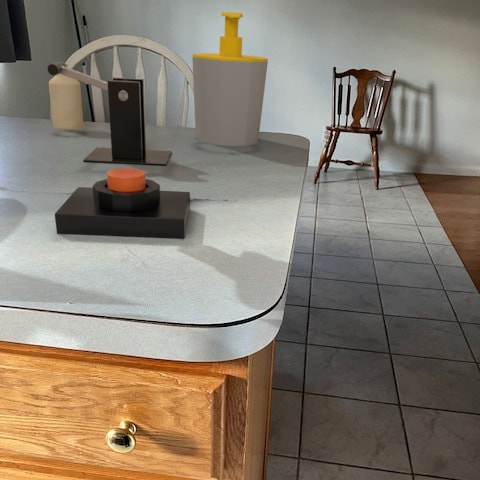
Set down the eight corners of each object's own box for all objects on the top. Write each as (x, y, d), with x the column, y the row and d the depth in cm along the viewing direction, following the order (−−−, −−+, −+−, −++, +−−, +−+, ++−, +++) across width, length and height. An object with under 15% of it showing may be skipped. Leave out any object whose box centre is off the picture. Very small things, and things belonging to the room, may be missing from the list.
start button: (104, 193, 56) (103, 176, 56) (111, 183, 60) (110, 167, 59) (143, 195, 57) (142, 178, 56) (147, 184, 60) (147, 169, 59)
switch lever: (45, 76, 75) (48, 58, 74) (55, 73, 79) (58, 56, 78) (131, 107, 77) (135, 90, 76) (136, 102, 82) (140, 86, 80)
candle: (49, 129, 103) (42, 72, 98) (76, 127, 106) (71, 72, 101) (61, 135, 99) (55, 75, 95) (89, 132, 103) (84, 75, 98)
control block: (56, 234, 55) (52, 196, 53) (79, 205, 64) (76, 171, 62) (184, 239, 56) (184, 201, 54) (189, 209, 65) (190, 176, 63)
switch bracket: (83, 168, 79) (76, 80, 73) (96, 154, 87) (90, 74, 81) (166, 172, 80) (164, 85, 74) (171, 158, 88) (170, 79, 82)
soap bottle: (196, 151, 93) (197, 9, 83) (187, 136, 104) (188, 10, 94) (269, 152, 96) (280, 15, 85) (253, 137, 107) (261, 14, 96)
